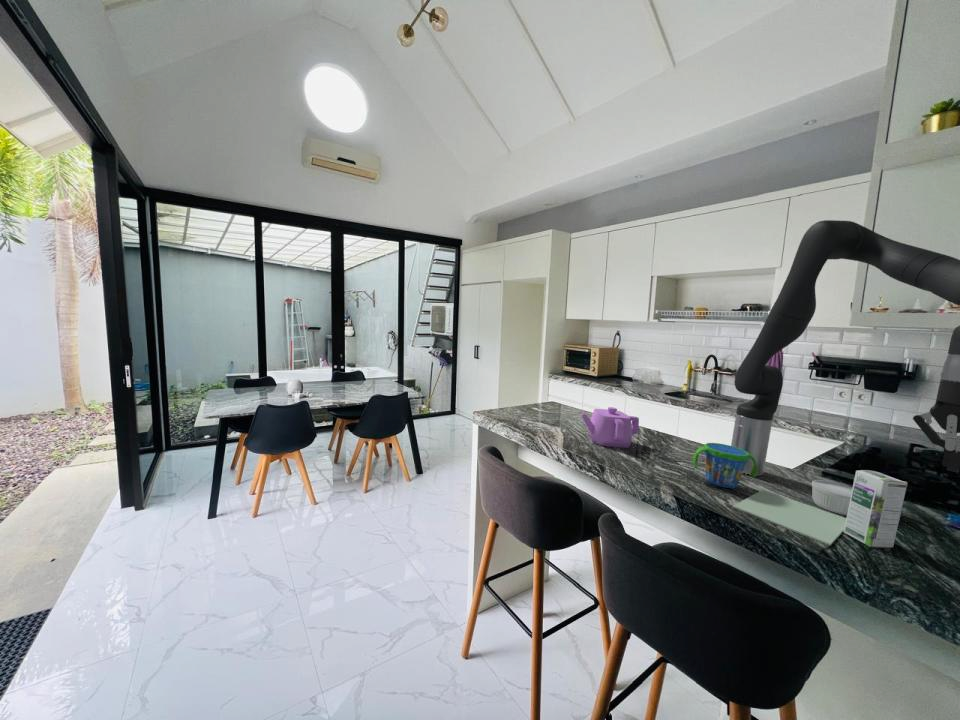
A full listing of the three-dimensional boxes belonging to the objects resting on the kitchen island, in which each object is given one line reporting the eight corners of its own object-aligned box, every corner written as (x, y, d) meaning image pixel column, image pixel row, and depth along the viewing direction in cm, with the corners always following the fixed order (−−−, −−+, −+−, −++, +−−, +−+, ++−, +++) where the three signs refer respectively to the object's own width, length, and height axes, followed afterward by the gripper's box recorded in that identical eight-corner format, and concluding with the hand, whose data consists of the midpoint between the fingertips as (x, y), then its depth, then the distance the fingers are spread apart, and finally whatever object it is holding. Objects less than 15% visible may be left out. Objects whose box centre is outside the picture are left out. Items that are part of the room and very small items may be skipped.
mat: (762, 491, 106) (762, 489, 106) (851, 521, 92) (852, 520, 92) (732, 507, 94) (732, 505, 94) (830, 545, 80) (830, 543, 80)
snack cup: (747, 483, 111) (753, 448, 110) (760, 497, 101) (766, 460, 100) (686, 471, 116) (691, 438, 115) (693, 484, 106) (698, 448, 105)
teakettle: (620, 452, 129) (625, 416, 128) (575, 438, 141) (579, 404, 140) (641, 443, 141) (645, 410, 140) (598, 431, 153) (602, 400, 152)
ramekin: (830, 497, 106) (833, 479, 105) (879, 519, 95) (883, 498, 94) (797, 498, 103) (800, 479, 103) (844, 520, 92) (848, 499, 92)
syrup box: (841, 532, 86) (854, 469, 84) (865, 533, 87) (878, 470, 85) (869, 547, 80) (883, 480, 79) (895, 548, 81) (909, 481, 79)
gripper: (1032, 386, 69) (1010, 480, 71) (921, 374, 80) (904, 456, 81) (1034, 388, 65) (1011, 488, 66) (916, 375, 75) (898, 461, 77)
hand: (952, 470), depth 74 cm, fingers closed
